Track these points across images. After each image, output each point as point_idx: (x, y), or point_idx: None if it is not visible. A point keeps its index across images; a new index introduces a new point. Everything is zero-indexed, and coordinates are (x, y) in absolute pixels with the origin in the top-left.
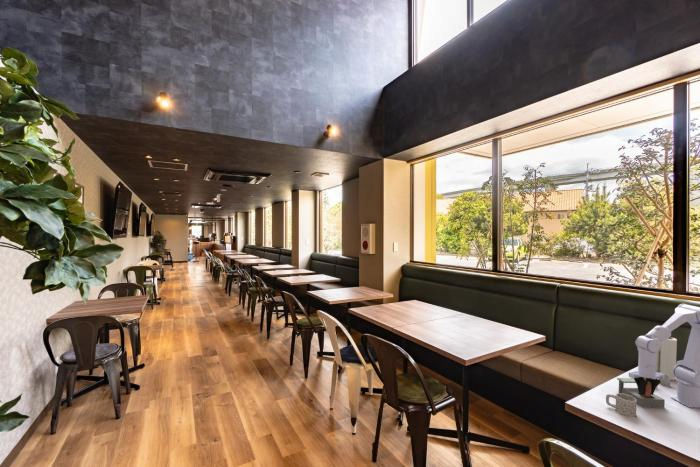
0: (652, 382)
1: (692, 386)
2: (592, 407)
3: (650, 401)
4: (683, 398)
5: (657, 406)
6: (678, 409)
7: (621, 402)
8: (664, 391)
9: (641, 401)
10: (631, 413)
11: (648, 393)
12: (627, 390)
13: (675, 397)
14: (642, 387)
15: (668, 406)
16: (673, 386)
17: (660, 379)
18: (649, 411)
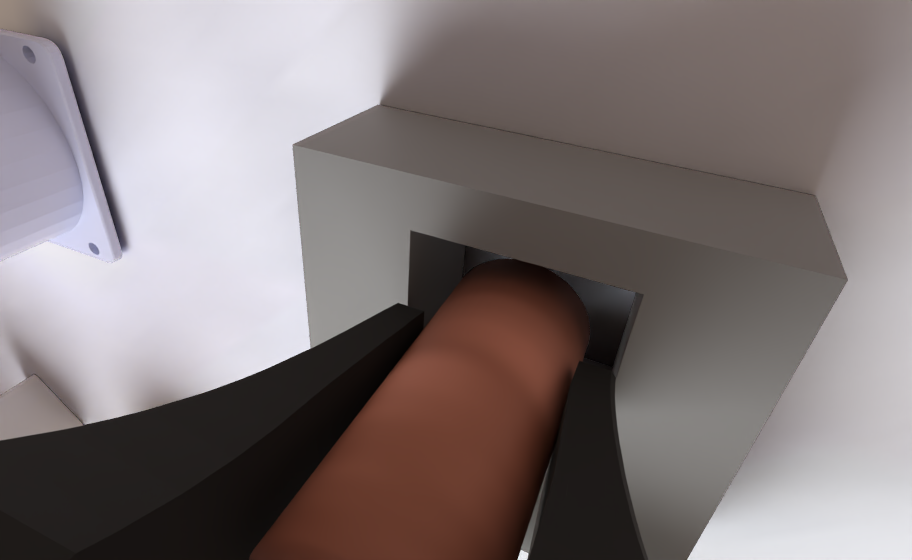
0: (206, 557)
1: None
2: None
3: (606, 200)
4: (4, 153)
5: (487, 132)
6: (217, 21)
7: None
8: (112, 351)
9: (828, 260)
10: None
11: (509, 345)
12: (675, 550)
13: (81, 243)
14: (630, 544)
15: (290, 121)
16: (10, 366)
17: None
18: (869, 23)
